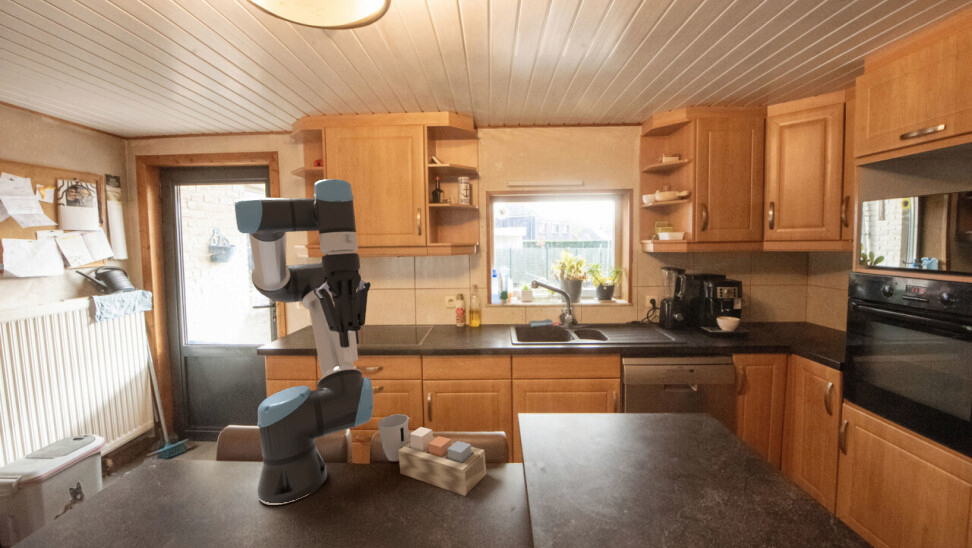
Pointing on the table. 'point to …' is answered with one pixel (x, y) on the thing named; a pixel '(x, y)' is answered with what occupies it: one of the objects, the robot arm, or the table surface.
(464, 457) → the key blue
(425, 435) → the key white
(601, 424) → the table surface
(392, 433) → the cup
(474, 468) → the wooden box
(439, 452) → the key terracotta
